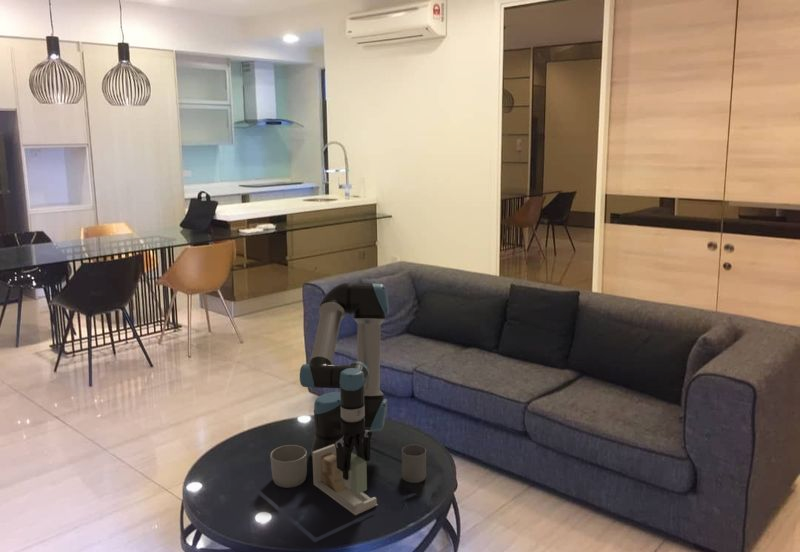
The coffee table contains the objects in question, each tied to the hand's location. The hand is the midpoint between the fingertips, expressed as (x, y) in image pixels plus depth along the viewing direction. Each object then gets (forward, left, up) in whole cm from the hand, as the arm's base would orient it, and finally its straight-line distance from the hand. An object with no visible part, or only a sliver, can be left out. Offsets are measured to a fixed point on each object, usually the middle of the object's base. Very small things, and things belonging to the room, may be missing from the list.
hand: (354, 484), depth 211 cm
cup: (-1, +26, -7) cm, 27 cm away
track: (-6, 0, -7) cm, 9 cm away
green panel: (0, 0, -1) cm, 1 cm away
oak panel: (-12, 0, -6) cm, 13 cm away
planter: (-26, -9, -7) cm, 28 cm away
